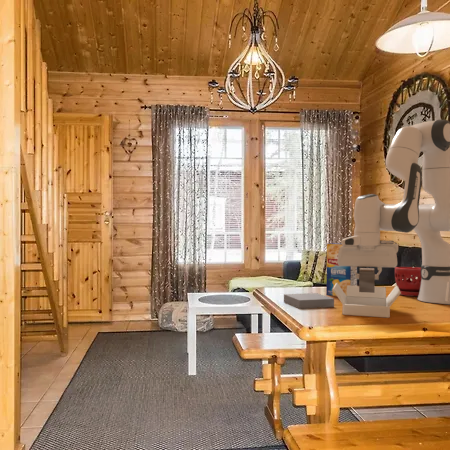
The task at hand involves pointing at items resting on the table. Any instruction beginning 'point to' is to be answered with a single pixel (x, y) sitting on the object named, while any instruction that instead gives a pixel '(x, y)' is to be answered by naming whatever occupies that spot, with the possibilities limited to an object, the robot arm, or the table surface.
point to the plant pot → (408, 280)
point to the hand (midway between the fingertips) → (366, 279)
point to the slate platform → (308, 300)
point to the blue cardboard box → (338, 271)
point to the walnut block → (367, 280)
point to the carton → (366, 301)
